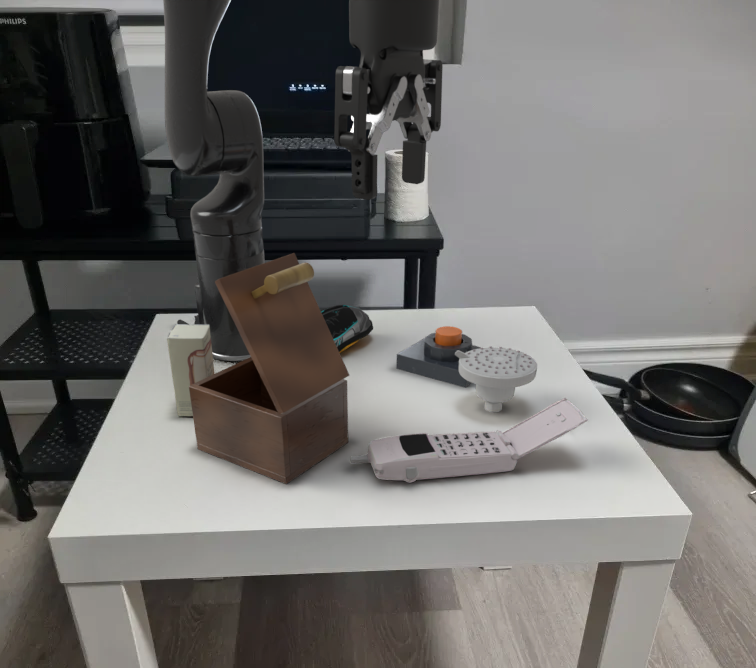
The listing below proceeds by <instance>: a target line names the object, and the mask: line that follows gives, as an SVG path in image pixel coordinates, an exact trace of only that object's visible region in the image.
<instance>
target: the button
mask: <svg viewBox="0 0 756 668" xmlns="http://www.w3.org/2000/svg"><path fill="white" fill-rule="evenodd" d="M434 333H435V343H436V344H438V345H442V346H456V345H460V344H461V340H462V334H463V330H462V329H460V328H459V327H457V326H450V325H445V326H440V327H437V328H436V329H435V332H434Z"/></svg>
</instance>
